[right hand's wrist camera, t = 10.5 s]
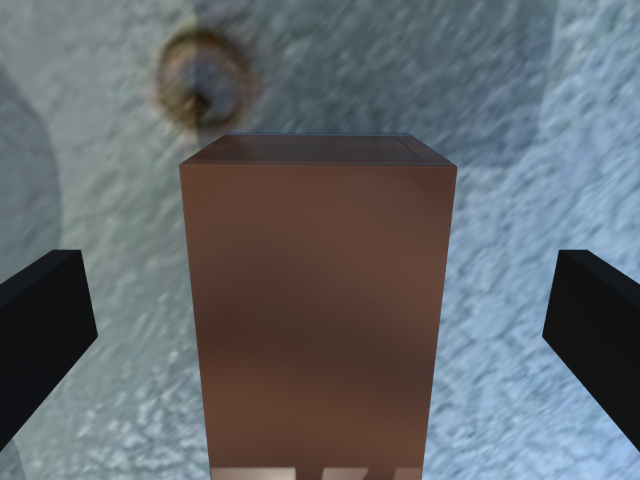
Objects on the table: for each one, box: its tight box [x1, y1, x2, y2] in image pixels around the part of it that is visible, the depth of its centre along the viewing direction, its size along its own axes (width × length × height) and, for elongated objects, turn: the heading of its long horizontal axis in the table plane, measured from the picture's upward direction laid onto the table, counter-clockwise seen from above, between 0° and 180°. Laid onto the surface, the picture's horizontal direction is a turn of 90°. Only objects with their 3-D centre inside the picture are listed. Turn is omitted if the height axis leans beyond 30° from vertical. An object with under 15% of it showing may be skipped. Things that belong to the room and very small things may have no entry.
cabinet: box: [179, 133, 457, 480], centre depth 25 cm, size 17×11×10 cm, turn 0°
